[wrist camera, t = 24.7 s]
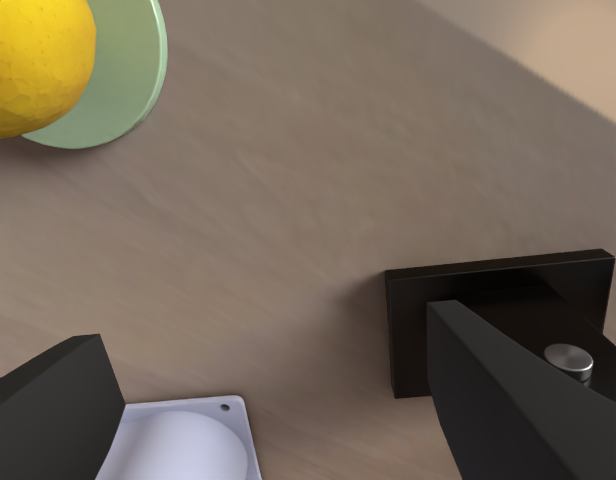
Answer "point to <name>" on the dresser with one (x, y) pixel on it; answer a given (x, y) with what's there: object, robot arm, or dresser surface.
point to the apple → (43, 61)
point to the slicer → (510, 313)
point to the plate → (115, 76)
